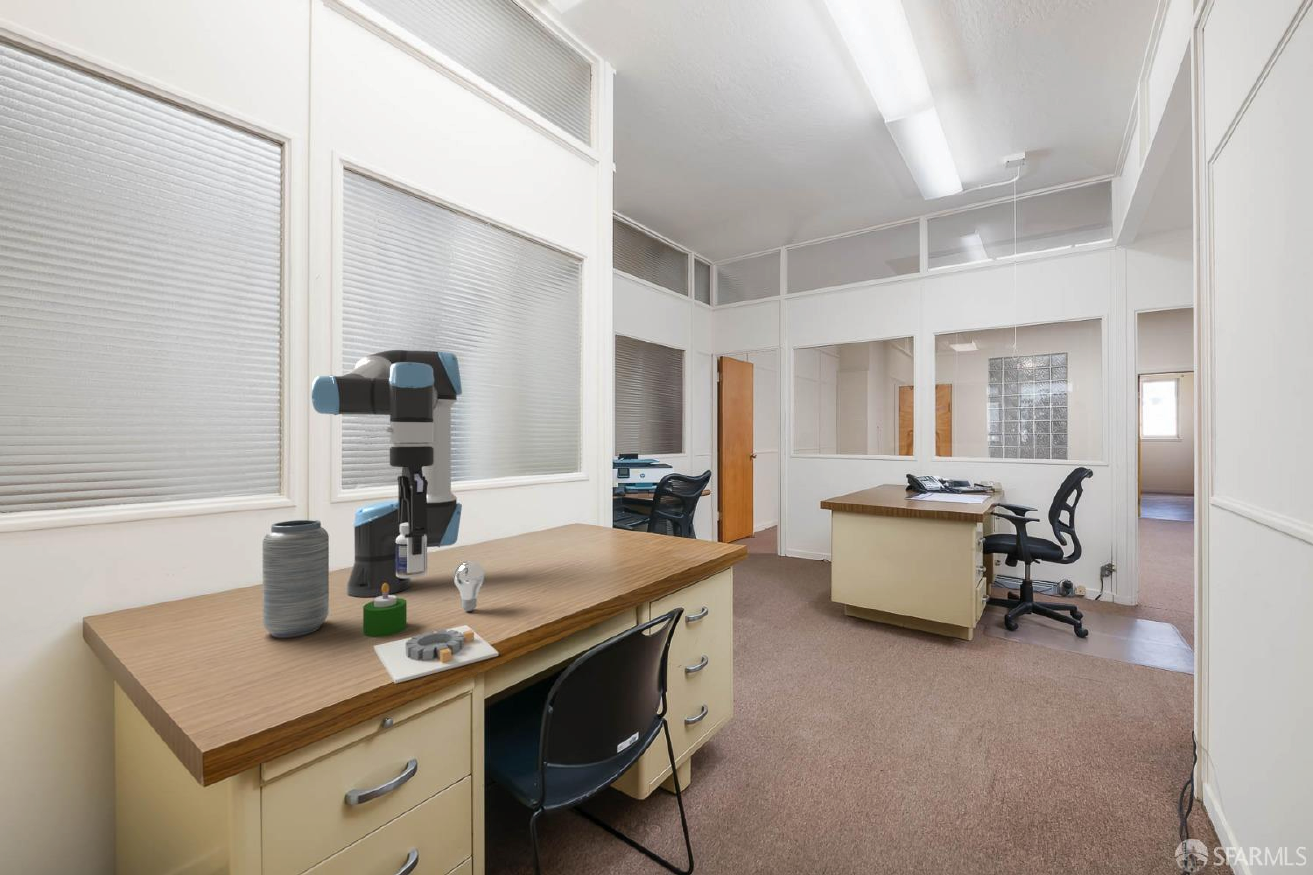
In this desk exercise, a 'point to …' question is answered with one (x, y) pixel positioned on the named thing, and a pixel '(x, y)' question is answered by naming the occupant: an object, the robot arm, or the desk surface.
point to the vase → (295, 578)
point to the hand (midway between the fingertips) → (412, 567)
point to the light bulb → (469, 583)
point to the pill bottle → (402, 554)
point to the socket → (433, 652)
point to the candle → (384, 615)
